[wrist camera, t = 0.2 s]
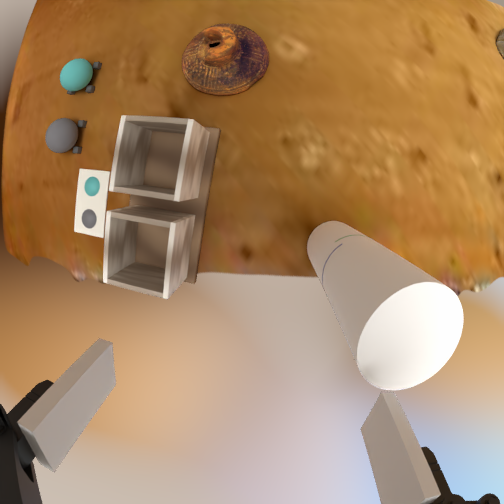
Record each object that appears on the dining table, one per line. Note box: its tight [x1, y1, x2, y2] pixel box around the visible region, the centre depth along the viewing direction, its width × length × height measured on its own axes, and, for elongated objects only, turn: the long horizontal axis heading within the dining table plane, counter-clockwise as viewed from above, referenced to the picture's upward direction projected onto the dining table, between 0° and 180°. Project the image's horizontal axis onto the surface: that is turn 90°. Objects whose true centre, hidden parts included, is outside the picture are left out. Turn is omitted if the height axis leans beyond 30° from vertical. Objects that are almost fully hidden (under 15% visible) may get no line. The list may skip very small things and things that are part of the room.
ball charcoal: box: [46, 118, 78, 153], centre depth 34 cm, size 6×6×6 cm
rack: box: [103, 115, 221, 299], centre depth 34 cm, size 21×11×9 cm, turn 170°
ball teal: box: [60, 59, 93, 91], centre depth 32 cm, size 6×6×6 cm
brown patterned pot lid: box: [182, 24, 269, 95], centre depth 30 cm, size 12×12×7 cm
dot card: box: [74, 169, 111, 238], centre depth 39 cm, size 10×6×1 cm, turn 170°
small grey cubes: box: [67, 62, 102, 153], centre depth 35 cm, size 15×5×1 cm, turn 170°
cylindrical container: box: [307, 221, 463, 390], centre depth 26 cm, size 7×7×25 cm
